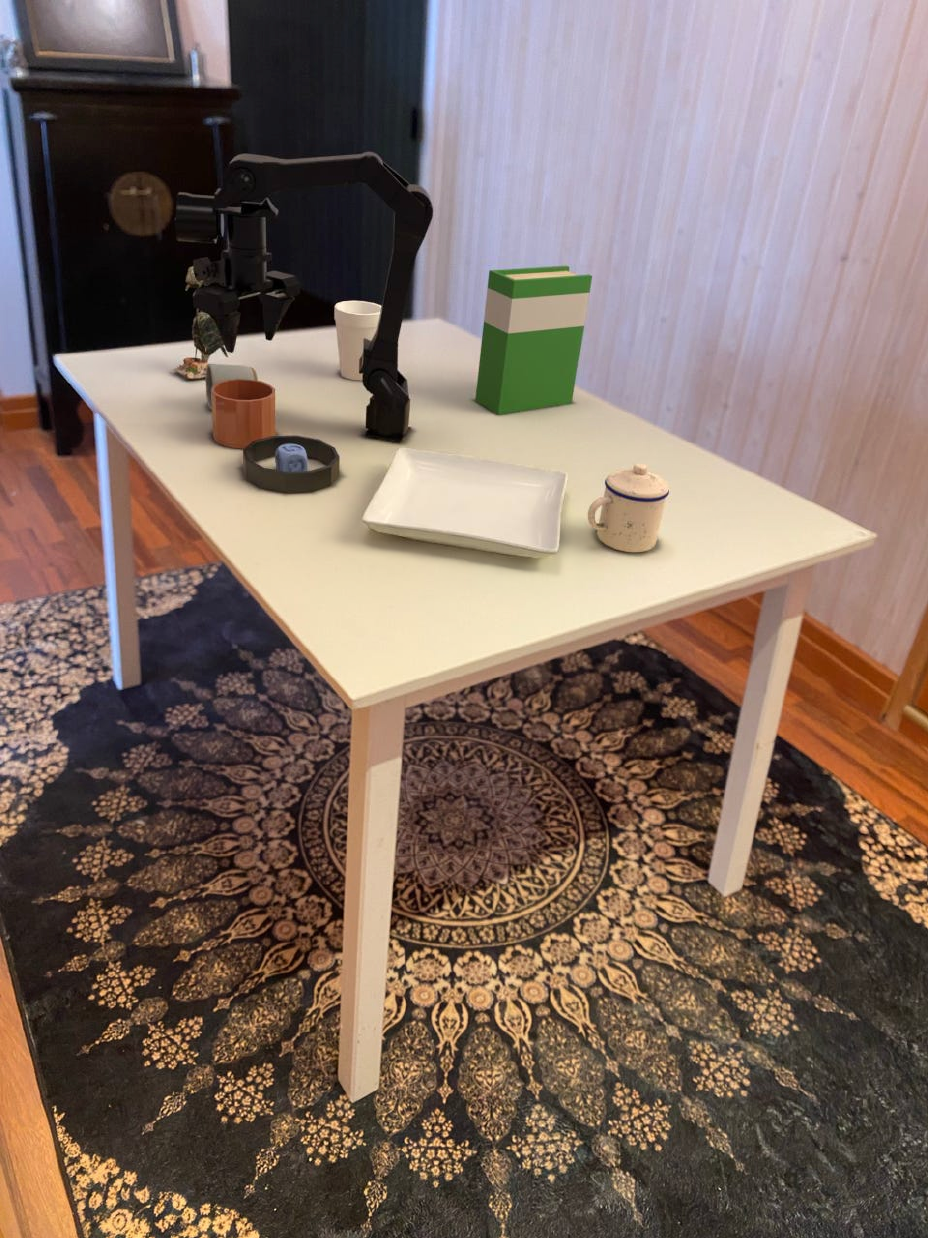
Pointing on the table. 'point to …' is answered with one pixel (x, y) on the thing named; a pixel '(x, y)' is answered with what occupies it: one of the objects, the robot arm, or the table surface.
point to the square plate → (470, 503)
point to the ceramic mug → (226, 375)
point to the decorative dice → (291, 458)
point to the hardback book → (531, 338)
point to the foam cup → (354, 333)
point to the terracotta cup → (242, 412)
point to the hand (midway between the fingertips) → (249, 345)
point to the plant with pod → (201, 338)
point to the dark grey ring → (290, 480)
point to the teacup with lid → (630, 509)
